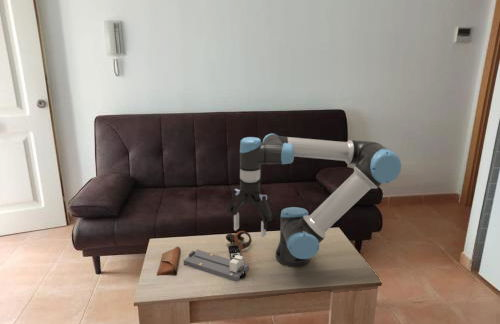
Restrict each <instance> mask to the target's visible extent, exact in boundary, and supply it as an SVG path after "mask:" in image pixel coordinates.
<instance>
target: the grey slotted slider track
mask: <svg viewBox="0 0 500 324" xmlns="http://www.w3.org/2000/svg"><path fill="white" fill-rule="evenodd" d="M231 260H232V259H231V258H227V257H224V256H220V255H217V254H214V253H210V252H207V251H203V250H200V249H196V250H192V251H190V253H188V256H187V257H186V258H185V259H183V265H185V266H188V267H190V268H193V269H198V270H199V271H203V272H206V273H209V274H212V275H215V276H218V277H221V278H224V279H227V280H230V281H233V282H236V283H237V282H238V281H239V280H240V279H241V278H240V276H241V274H242V273H243V272H244V271H245V273H247V272H248V270H249V269H250V268H249V267H250V266H249V264H246V263H244V262H243V266H241V267H240V268H239V270H238V271H237V272H233V271H230V261H231Z"/></svg>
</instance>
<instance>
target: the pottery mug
mask: <svg viewBox="0 0 500 324" xmlns="http://www.w3.org/2000/svg"><path fill="white" fill-rule="evenodd" d="M244 234H245V235H246V236H247V237H248V241H246V242H244V240H245V237H243V236H242V235H244ZM225 240H226V241H228V242H229V243H230V245H233V244H234V243H235V244H236V245H237V246H238V248H237V250H238V249H239V250H238V251H240V252H241V251H243V250H245V249H247V248H249V247H250V245H251V244H252V237H251V234H250V233H249V232H247V231H245V230H240V231H237V232H236V233H234V234H233V233H227V234H226V236H225ZM241 242H242V243H241Z"/></svg>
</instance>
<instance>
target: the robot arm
mask: <svg viewBox="0 0 500 324" xmlns="http://www.w3.org/2000/svg"><path fill="white" fill-rule="evenodd" d="M295 157H298V158H308V159H309V158H310V159H322V160H331V161H332V160H333V161H342V162H345V163H346V164H347V165H349V164H350V165H354V166H353V167H354V168H353V173H351V174H350V176H349V177H348V178H347V179H345V180H344V182H343V183H342V184H340V185H339V187H337V188H336V189H335V190H334V191H333V192H332V193H331V194H330V195H329V196H328V197H327V198H326V199H325V200H324V201H323V202H322V203H321V204H320V205H319V206H318V207H317V208H316V209H315V210H314V211H313V212H312V213H311V214H309V211H308V210H307V209H305V208H302V207H297V206H296V207H295V206H293V207H292V206H291V207H290V206H289V207H285V208H283V209H281V213H280V216H279V217H280V232H279V242H278V244H277V247H276V250H275V255H274V256H275V260H276V261H277V263H280V264H281V265H283V266H287V267H292V268H294V267H295V268H297V267H298V268H299V267H303V266H305V265H308V263H309V262H310V260H311V259H312V258H313V257H314V256H315V255H317V254H318V252H319V249H320V244H321V243H322V241H323V240H324V239H325V238H326V232H327V231H328V230H329V229H330V228H331V227H332V226H333V225H334V224H335V223H336V222H338V221H339V219H341V218H342V216H344V215H345V214H346V213H347V212H348V211H349V210H350V209H351V208H352V207H353V206H355V204H357V202H359V201H360V199H362V197H364V196H365V195H366V194H367V193H368V192H369V191H370V190H372V189H378V188H379V187H380V186H381V185H383V184H389V183H392V182H393V181H395V180H396V179H397V178H399V176H400V174H401V170H402V161H401V158H400V157H399V156H398V155H397V153H395V152H394V151H393V150H391V149H390V148H387V147H386V146H384V145H382V144H381V143H379V142H376V141H370V140H369V141H368V140H353V139H348V140H347V141H335V140H325V139H313V138H302V137H291V136H290V137H289V136H281V135H278V134H276V133H269V134H266V135H265V136H264V138H263V139H262V140H261V139H260V138H259V137H255V136H247V137H243V138H242V139H240V144H239V179H240V180H239V188H240V189H239V188H234V190H232V197H231V199H230V201H229V206H228V208H227V212H228V213H230V214H231V221H232V222H233V230H234V231H235V232H236V231H237V230H238V229H239V228H240V213H239V212H238V211H240V208H241V207H242V206H243V205H244V204H251V205H253V206H254V208H255V209H256V210H257V212H258V214H259V216H260V218H261V219H262V220H261V221H260V223H261V224H260V238H264V237H265V236H266V235H267V229H268V228H269V222H271V221H272V220H273V219H274V216H273V212H272V209H271V206H270V203H269V196H268V194H267V193H266V194H262V193H261V165H288V164H292V163H293V162H294V159H295ZM239 195H240V197H241V198H240V200H239V202H238V203H237V200H238V197H239ZM261 202H262V203H261ZM235 205H236V206H235Z"/></svg>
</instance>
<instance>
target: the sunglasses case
mask: <svg viewBox="0 0 500 324" xmlns="http://www.w3.org/2000/svg"><path fill="white" fill-rule="evenodd" d="M181 250H182V249H181V247H180V246H175V247H174V248H173V249H171V250H168V251H166V252H163V253H162V254H161V260H160V263H159V265H158V266H159V267H158V268H157V272H156V276H176V275H177V273H178V269H179V262H180V257H181V252H182V251H181Z"/></svg>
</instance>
